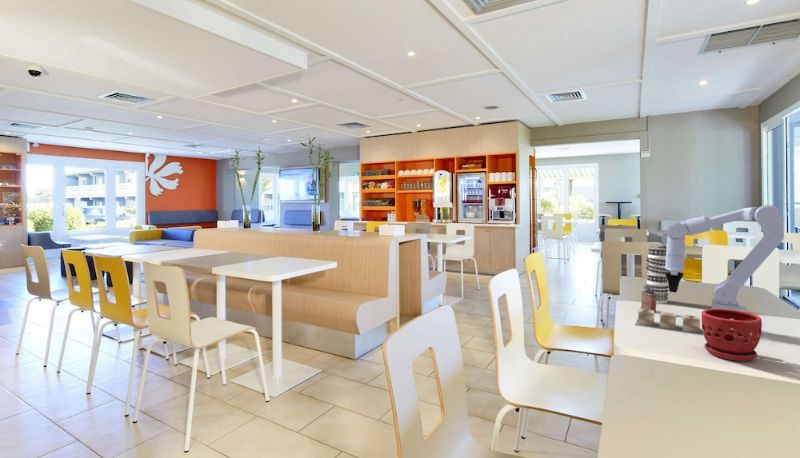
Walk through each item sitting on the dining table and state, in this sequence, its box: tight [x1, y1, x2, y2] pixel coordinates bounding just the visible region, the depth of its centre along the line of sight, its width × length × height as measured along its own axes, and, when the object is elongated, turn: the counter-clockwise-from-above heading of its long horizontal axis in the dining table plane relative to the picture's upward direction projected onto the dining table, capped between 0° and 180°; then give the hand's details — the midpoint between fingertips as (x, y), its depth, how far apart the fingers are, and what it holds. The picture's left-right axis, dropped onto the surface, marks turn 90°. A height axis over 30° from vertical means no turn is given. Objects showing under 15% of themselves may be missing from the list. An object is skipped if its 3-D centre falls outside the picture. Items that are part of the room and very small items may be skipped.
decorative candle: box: [645, 243, 670, 304], centre depth 183 cm, size 9×9×25 cm
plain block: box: [659, 311, 677, 330], centre depth 141 cm, size 4×4×4 cm
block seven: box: [637, 308, 655, 326], centre depth 145 cm, size 4×4×5 cm
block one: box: [682, 314, 701, 333], centre depth 138 cm, size 4×4×5 cm
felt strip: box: [634, 318, 703, 336], centre depth 142 cm, size 19×9×1 cm, turn 56°
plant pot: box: [701, 308, 763, 362], centre depth 115 cm, size 13×13×12 cm
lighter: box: [640, 284, 657, 314], centre depth 164 cm, size 8×3×10 cm, turn 178°
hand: (673, 291), depth 152 cm, fingers closed
